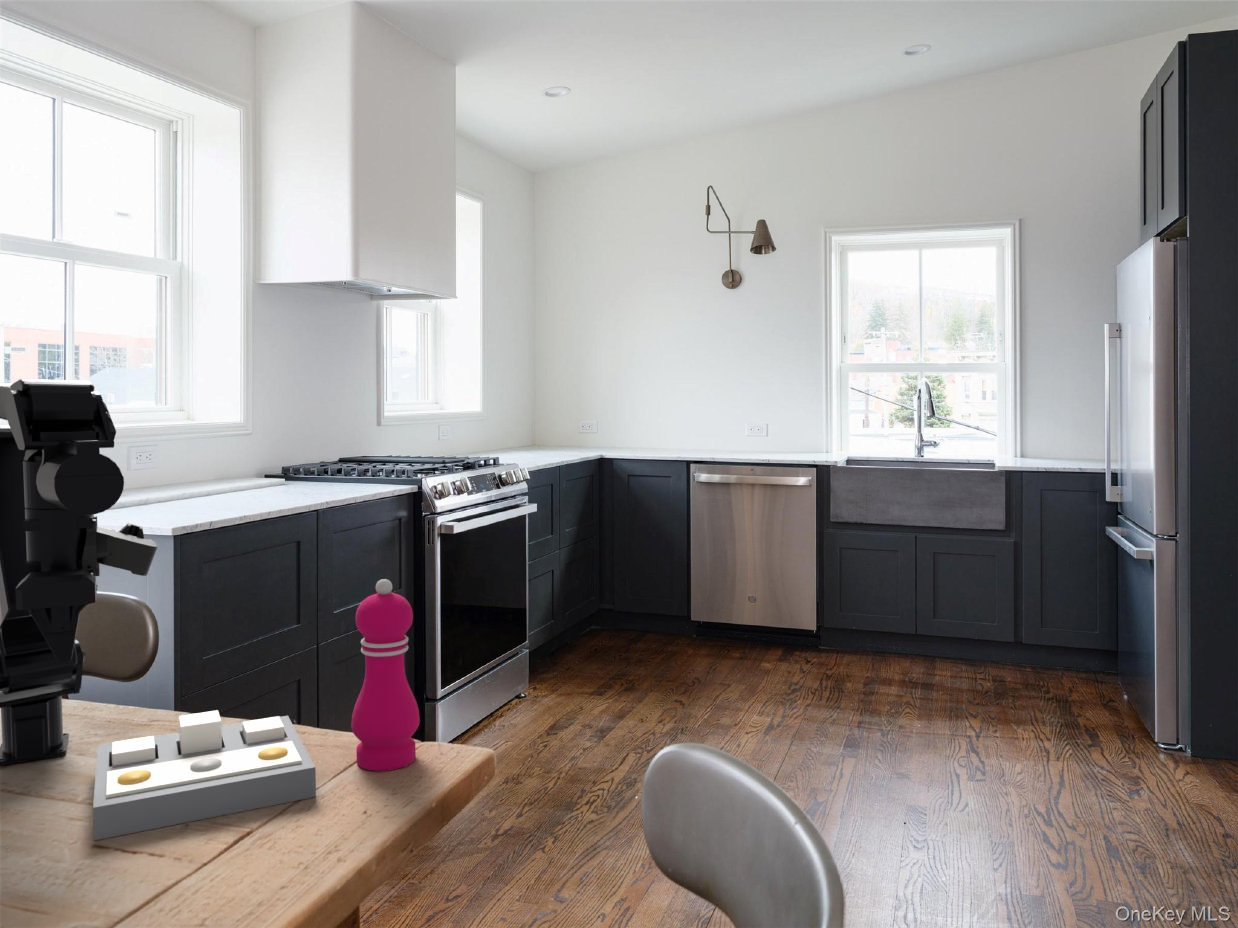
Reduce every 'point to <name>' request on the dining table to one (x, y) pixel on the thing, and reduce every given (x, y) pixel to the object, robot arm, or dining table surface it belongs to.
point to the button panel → (199, 781)
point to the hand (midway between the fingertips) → (65, 661)
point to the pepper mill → (385, 684)
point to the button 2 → (262, 730)
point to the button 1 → (133, 750)
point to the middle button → (200, 732)
